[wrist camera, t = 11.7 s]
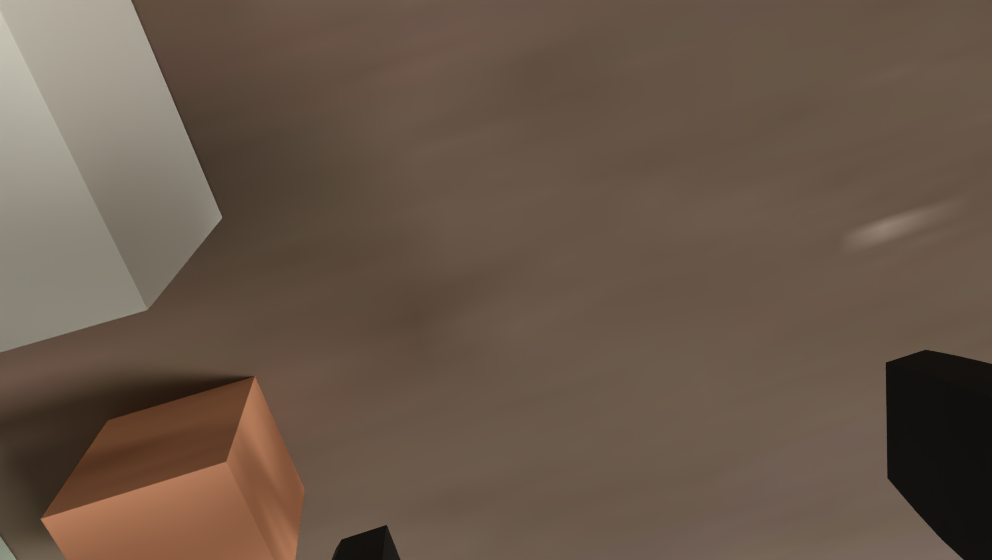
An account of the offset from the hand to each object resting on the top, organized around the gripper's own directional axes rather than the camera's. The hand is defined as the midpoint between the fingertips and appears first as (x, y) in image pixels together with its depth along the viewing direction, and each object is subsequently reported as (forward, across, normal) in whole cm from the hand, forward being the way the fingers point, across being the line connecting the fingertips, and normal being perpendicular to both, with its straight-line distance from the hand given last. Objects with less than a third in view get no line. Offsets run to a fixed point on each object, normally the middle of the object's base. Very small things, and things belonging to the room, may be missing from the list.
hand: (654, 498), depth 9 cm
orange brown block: (+10, +10, +3) cm, 14 cm away
